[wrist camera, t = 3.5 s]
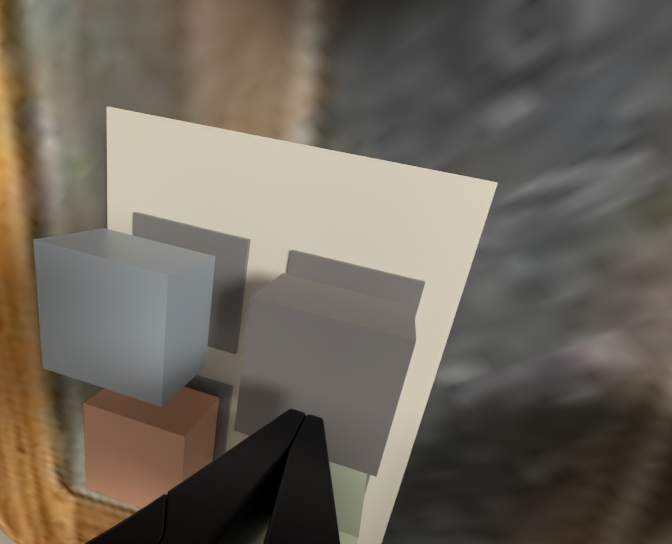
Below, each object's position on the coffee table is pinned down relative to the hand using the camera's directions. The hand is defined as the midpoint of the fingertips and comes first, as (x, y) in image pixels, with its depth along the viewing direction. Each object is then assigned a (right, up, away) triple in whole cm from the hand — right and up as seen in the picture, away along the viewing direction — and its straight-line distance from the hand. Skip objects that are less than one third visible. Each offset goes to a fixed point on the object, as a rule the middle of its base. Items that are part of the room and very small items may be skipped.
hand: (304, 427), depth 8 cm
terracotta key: (-7, -4, +8) cm, 11 cm away
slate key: (-6, +3, +5) cm, 8 cm away
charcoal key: (+1, +1, +4) cm, 4 cm away
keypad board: (-3, 0, +9) cm, 9 cm away
